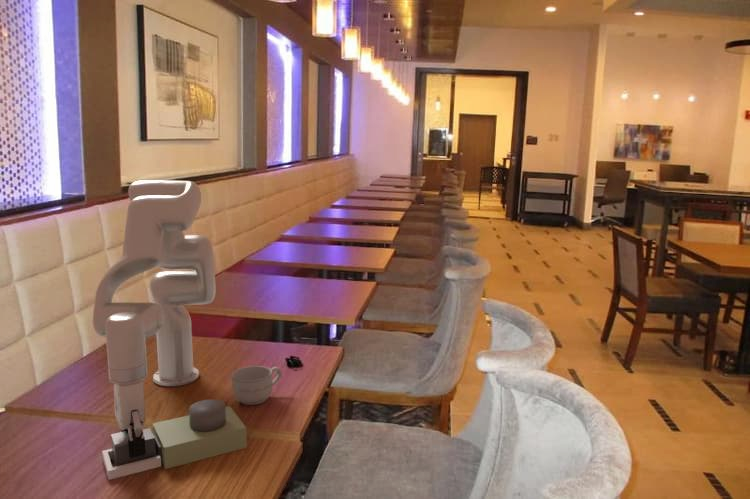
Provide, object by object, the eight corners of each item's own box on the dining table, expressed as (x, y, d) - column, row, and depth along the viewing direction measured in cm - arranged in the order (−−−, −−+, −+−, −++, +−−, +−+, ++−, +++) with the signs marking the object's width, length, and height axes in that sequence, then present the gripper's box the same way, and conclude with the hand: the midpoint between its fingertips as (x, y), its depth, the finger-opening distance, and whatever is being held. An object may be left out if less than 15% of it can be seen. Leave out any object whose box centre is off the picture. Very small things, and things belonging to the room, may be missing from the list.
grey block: (113, 462, 132) (110, 434, 130) (151, 452, 136) (149, 425, 134) (116, 473, 127) (114, 444, 126) (156, 463, 131) (154, 435, 130)
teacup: (238, 412, 155) (237, 383, 153) (227, 395, 164) (226, 368, 162) (289, 402, 161) (289, 374, 159) (276, 386, 170) (276, 359, 169)
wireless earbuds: (302, 365, 182) (286, 361, 181) (300, 373, 183) (284, 368, 182) (301, 357, 189) (286, 352, 188) (299, 364, 189) (283, 360, 188)
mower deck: (101, 455, 134) (98, 418, 132) (230, 425, 148) (229, 390, 146) (109, 483, 124) (106, 443, 122) (246, 447, 138) (245, 411, 136)
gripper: (103, 360, 133) (108, 431, 136) (115, 390, 118) (121, 469, 122) (139, 354, 136) (144, 424, 140) (155, 382, 122) (159, 459, 125)
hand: (133, 445), depth 131 cm, fingers open, 9 cm apart
